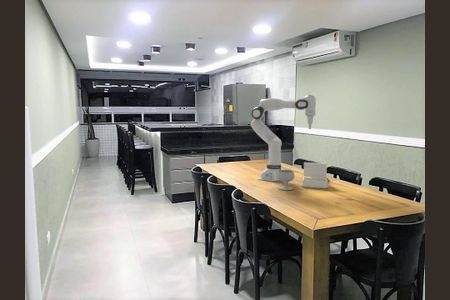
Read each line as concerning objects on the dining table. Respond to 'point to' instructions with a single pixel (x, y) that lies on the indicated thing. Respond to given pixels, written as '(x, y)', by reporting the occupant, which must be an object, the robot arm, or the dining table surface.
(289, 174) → the chalice
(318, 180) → the mailer box
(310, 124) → the robot arm
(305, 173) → the lid
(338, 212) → the dining table surface
